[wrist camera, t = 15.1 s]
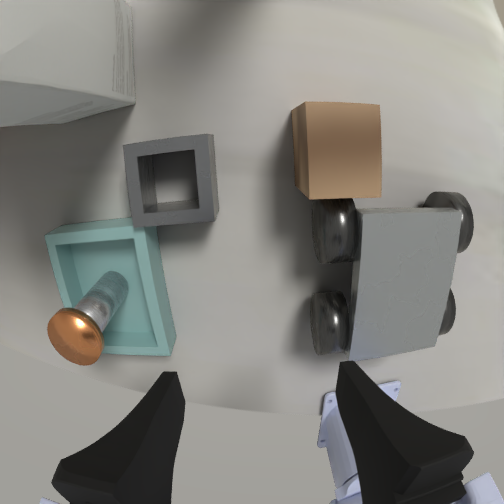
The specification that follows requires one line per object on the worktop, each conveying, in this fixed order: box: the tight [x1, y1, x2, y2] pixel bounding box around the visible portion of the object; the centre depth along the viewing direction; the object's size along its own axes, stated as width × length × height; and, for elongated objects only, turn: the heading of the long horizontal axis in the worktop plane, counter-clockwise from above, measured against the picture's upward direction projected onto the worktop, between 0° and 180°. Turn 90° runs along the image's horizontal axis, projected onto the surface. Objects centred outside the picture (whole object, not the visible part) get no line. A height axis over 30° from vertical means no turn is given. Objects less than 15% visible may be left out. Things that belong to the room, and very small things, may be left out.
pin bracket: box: [123, 134, 219, 228], centre depth 18 cm, size 5×5×3 cm
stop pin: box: [47, 271, 129, 365], centre depth 18 cm, size 4×4×7 cm
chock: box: [291, 102, 382, 200], centre depth 17 cm, size 5×4×5 cm
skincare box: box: [0, 0, 136, 127], centre depth 9 cm, size 8×7×16 cm
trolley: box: [310, 192, 474, 361], centre depth 20 cm, size 11×11×5 cm
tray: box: [44, 217, 176, 356], centre depth 21 cm, size 10×8×2 cm
